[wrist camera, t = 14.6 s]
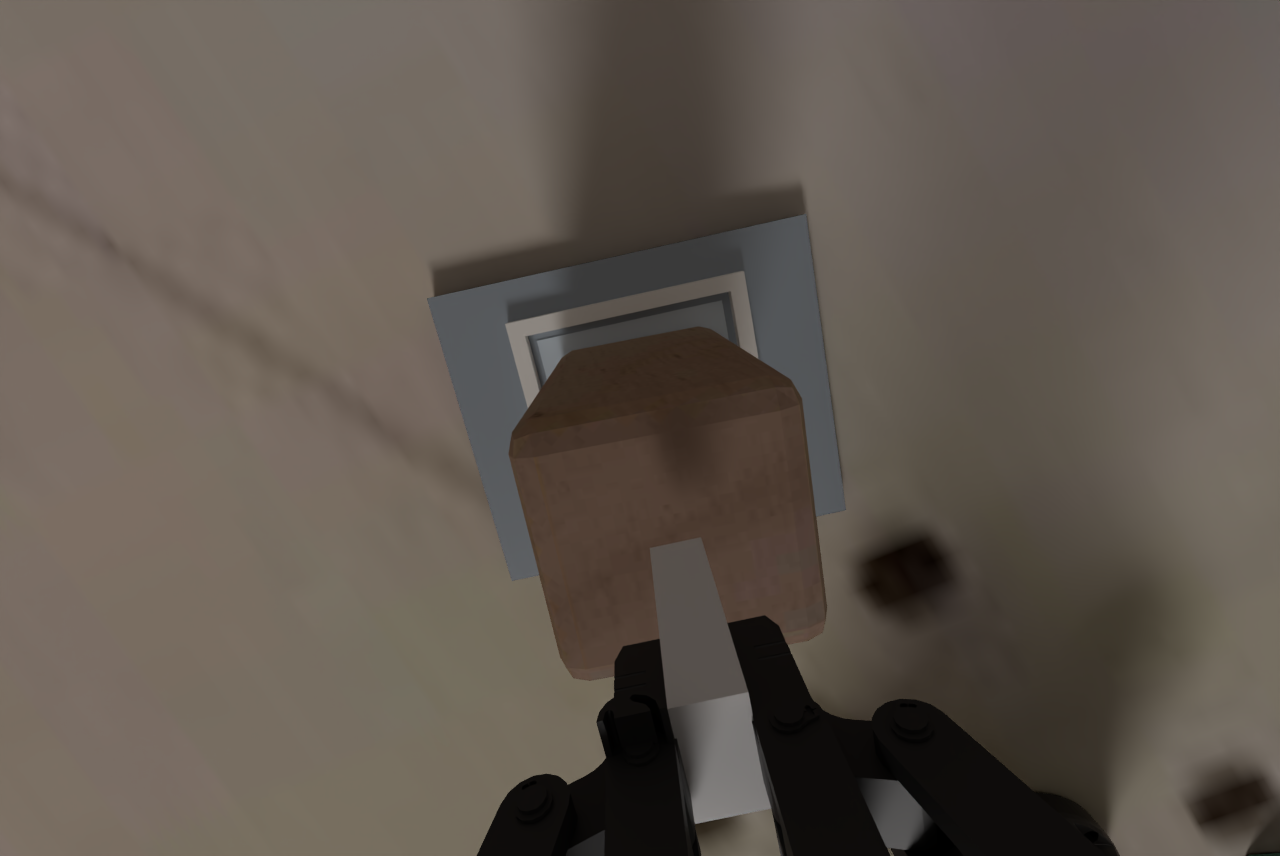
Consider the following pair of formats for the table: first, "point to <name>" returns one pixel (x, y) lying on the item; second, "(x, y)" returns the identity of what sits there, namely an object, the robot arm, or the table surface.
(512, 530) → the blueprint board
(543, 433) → the wooden block
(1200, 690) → the table surface
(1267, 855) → the maze
